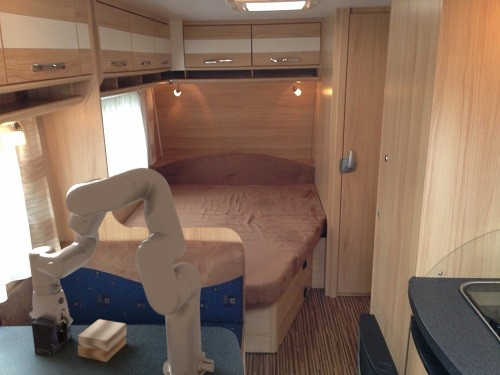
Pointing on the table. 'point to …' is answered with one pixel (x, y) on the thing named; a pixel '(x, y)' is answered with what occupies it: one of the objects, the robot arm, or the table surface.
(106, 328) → the ash slab
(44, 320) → the small box
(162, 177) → the robot arm
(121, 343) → the oak slab
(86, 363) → the table surface
